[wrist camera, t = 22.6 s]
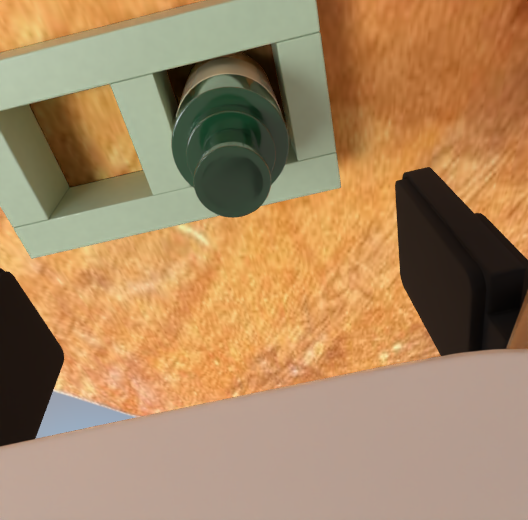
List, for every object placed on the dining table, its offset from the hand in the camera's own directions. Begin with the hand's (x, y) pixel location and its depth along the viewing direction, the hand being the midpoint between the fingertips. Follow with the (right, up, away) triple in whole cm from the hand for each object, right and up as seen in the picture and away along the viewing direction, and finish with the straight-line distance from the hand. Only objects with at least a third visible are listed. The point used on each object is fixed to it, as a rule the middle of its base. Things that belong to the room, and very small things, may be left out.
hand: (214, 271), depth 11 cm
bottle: (-1, +10, +17) cm, 20 cm away
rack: (-5, +9, +17) cm, 20 cm away
